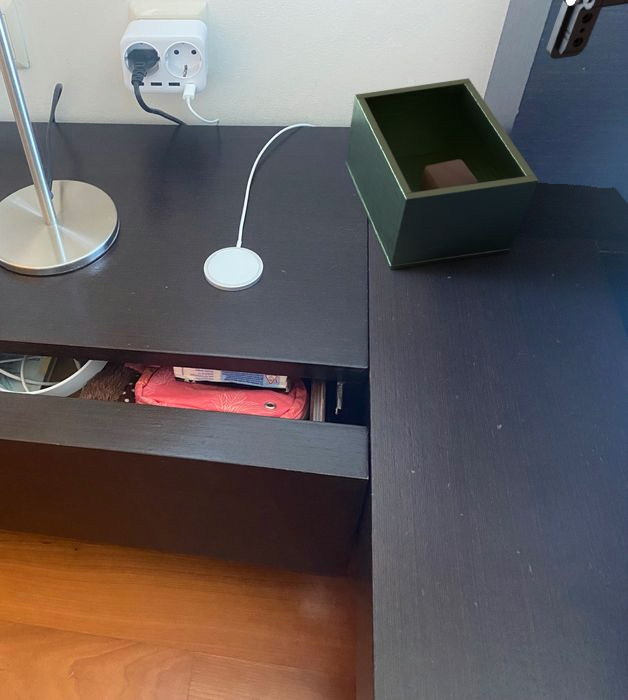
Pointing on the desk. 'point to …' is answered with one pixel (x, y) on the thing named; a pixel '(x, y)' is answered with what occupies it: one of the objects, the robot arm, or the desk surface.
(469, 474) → the desk surface
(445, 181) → the wooden block
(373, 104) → the waste bin
